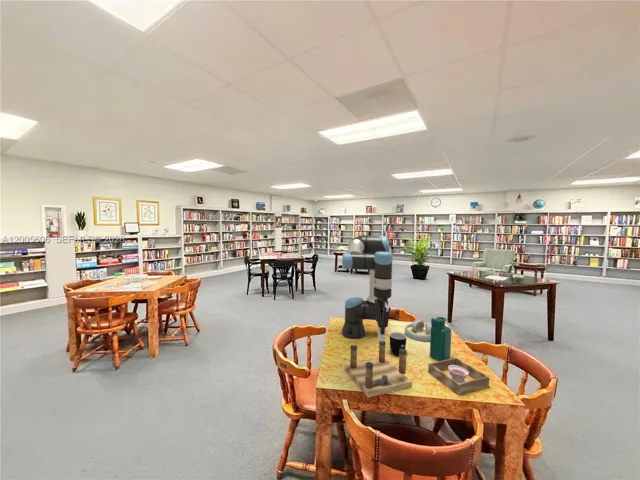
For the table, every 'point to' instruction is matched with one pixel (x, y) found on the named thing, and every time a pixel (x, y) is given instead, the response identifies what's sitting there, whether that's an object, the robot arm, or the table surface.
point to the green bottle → (440, 339)
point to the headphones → (419, 330)
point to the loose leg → (402, 361)
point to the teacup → (457, 373)
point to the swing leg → (369, 377)
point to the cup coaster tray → (458, 388)
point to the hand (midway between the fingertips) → (381, 340)
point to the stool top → (376, 373)
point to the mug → (397, 342)
